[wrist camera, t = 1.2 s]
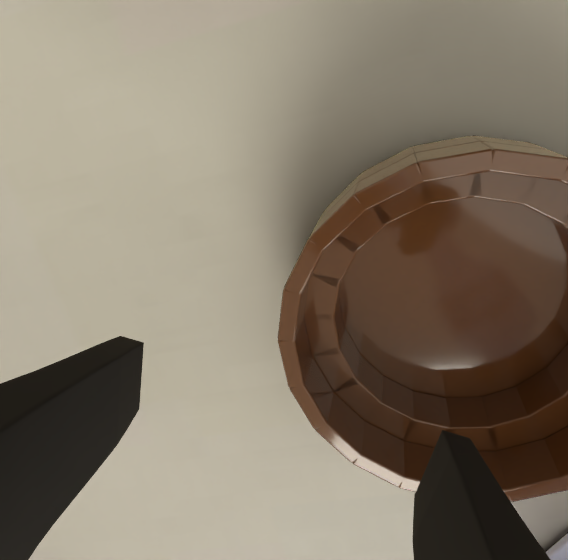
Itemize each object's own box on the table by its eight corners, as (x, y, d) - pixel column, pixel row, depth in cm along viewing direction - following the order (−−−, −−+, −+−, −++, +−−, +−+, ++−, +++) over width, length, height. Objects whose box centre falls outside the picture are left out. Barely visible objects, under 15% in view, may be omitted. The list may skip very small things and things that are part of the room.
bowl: (715, 233, 16) (827, 283, 12) (499, 463, 21) (524, 553, 17) (392, 74, 16) (391, 70, 12) (259, 340, 21) (227, 400, 17)
